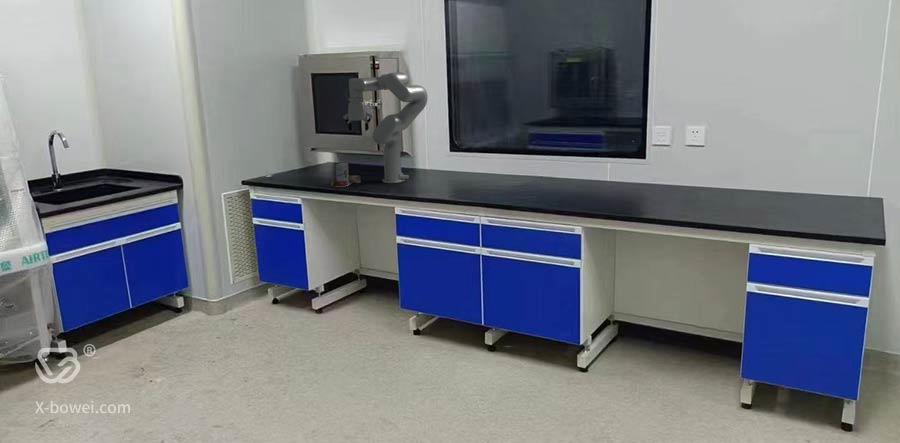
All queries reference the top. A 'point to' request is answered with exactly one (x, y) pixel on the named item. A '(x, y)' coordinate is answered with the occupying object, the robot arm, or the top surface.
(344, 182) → the ink box
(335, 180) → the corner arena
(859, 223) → the top surface
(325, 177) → the top surface
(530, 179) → the top surface
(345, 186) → the pad
